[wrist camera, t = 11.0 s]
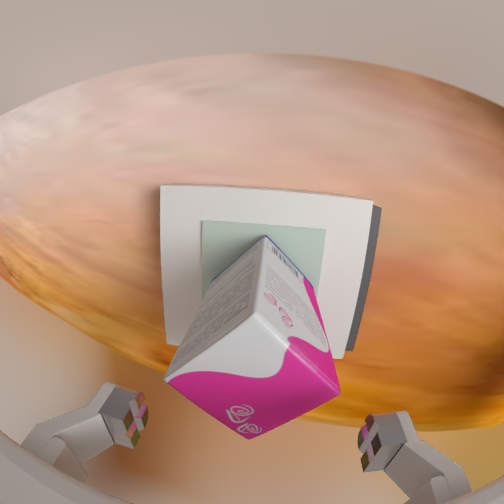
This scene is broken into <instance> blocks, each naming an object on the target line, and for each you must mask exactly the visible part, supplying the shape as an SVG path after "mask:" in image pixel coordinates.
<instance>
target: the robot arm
mask: <svg viewBox="0 0 504 504" xmlns="http://www.w3.org/2000/svg"><path fill="white" fill-rule="evenodd" d="M144 400H145V397H144V394H143V393H142V392H139V391H136V390H132V389H129V388H126V387H123V386H119V385H116V384H113V383H110V382H106V383H104V384H103V385H102V387H101V388H100V389H99V391H98V392H97V393H96V395H95V396H94V397H93V399H92V400H91V401H90V403H89V404H88V406H87V407H86V408H85V407H81V408H79V409H76V410H74V411H71V412H69V413H66V414H64V415H61V416H58V417H56V418H53V419H51V420H48V421H45V422H43V423H40V424H37V425H36V426H35V427H34V428H33V430H32V431H31V432H30V433H29V435H28V436H27V437H26V439H25V440H24V441H23V442H22V444H21V445H19V444H18V443H16V442H15V441H14V440H12V439H11V438H9V437H8V436H7V435H6V434H4V433H3V432H2V431H1V430H0V504H133V503H130V502H127V501H124V500H122V499H119V498H116V497H114V496H112V495H109V494H107V493H104V492H102V491H100V490H98V489H95V488H93V487H91V486H89V485H87V484H85V482H86V480H87V478H88V474H87V473H86V471H85V470H84V469H83V467H82V466H81V464H83V463H84V462H86V461H88V460H89V459H91V458H93V457H94V456H96V455H98V454H99V453H101V452H102V451H104V450H106V449H107V448H109V447H110V446H112V445H114V443H116V444H119V445H122V446H126V447H129V448H132V449H135V447H136V444H137V442H138V440H139V438H140V435H139V431H141V430H142V429H144V428H145V426H146V424H147V420H148V408H147V406H146V405H145V404H144V403H143V402H144ZM365 422H366V425H364V426H363V427H362V428H361V430H360V432H359V435H358V448H359V450H360V451H361V452H362V453H363V456H362V458H361V463H362V468H363V472H369V471H377V470H384V472H385V473H386V474H387V475H388V476H389V477H390V478H391V479H392V480H393V481H394V482H395V483H396V484H397V485H398V486H399V487H400V488H401V489H402V490H403V492H404V493H406V494H407V496H408V497H410V499H409V500H408V501H407V502H406V503H405V504H504V475H503V476H501V477H500V478H498V479H496V480H494V481H492V482H490V483H488V484H486V485H484V486H482V487H480V488H478V489H476V490H474V491H472V490H471V488H470V485H469V482H468V480H467V477H466V475H465V472H464V470H463V468H462V467H461V466H459V465H458V464H457V463H455V462H454V461H452V460H451V459H449V458H448V457H446V456H445V455H443V454H442V453H441V452H439V451H438V450H436V449H435V448H433V447H432V446H430V445H429V444H428V443H426V442H425V441H423V440H421V441H420V440H419V438H418V435H417V433H416V430H415V428H414V425H413V423H412V421H411V418H410V416H409V414H408V412H407V411H406V410H404V411H396V412H385V413H374V414H369V415H368V416H367V418H366V420H365Z"/></svg>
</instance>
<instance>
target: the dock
mask: <svg viewBox="0 0 504 504" xmlns="http://www.w3.org/2000/svg"><path fill="white" fill-rule="evenodd" d="M380 216H381V208H380V207H377V206H374V205H373V201H372V200H369V199H365V198H362V197H355V196H347V195H339V194H330V193H321V192H311V191H300V190H289V189H277V188H264V187H249V186H231V185H208V184H167V185H160V249H161V275H162V293H163V307H164V320H165V331H166V341H167V344H169V345H175V346H179V345H180V343H181V341H182V339H183V337H184V335H185V333H186V331H187V329H188V327H189V325H190V323H191V321H192V320H193V318H194V315H195V313H196V311H197V310H198V307H199V306H200V304H201V302H202V300H203V298H204V296H205V294H206V292H207V290H208V288H209V286H210V284H211V282H212V280H213V279H214V278H215V277H217V276H218V275H219V274H220V273H221V272H222V271H224V270H225V269H226V268H227V267H228V266H229V265H230V264H232V263H233V262H234V261H235V260H236V259H237V258H239V257H240V256H241V255H242V254H243V253H244V252H246V251H247V250H248V249H249V248H250V247H251V246H253V245H254V244H255V243H256V242H257V241H258V240H259V239H261V238H262V237H263V236H264V235H267V236H268V237H269V238H270V239H271V240H272V241H273V242H274V243H275V244H276V245H277V246H278V247H279V248H280V250H281V251H282V252H283V253H284V254H285V255H286V256H287V257H288V258H289V259H290V260H291V262H292V263H293V264H294V265H295V266H296V267H297V268H298V269H299V271H300V272H301V273H302V274H303V275H304V276H305V277H306V279H307V280H308V281H309V282H310V283H311V285H312V286H313V288H314V292H315V296H316V299H317V303H318V306H319V310H320V314H321V317H322V320H323V324H324V328H325V332H326V335H327V339H328V343H329V346H330V350H331V354H332V358H333V359H343V356H344V352H345V351H353V348H354V344H355V340H356V337H357V333H358V329H359V325H360V321H361V317H362V313H363V309H364V305H365V300H366V296H367V291H368V286H369V282H370V277H371V271H372V266H373V261H374V255H375V249H376V243H377V237H378V230H379V223H380Z"/></svg>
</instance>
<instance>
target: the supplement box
mask: <svg viewBox="0 0 504 504" xmlns="http://www.w3.org/2000/svg"><path fill="white" fill-rule="evenodd" d="M164 381H166V382H167V383H168V384H170V385H171V386H172V387H173V388H175V389H176V390H177V391H179V392H180V393H181V394H183V395H184V396H185V397H186V398H188V399H189V400H190V401H192V402H193V403H194V404H196V405H197V406H199V407H200V408H201V409H203V410H204V411H206V412H207V413H209V414H210V415H211V416H213V417H214V418H216V419H217V420H219V421H220V422H222V423H223V424H225V425H226V426H228V427H229V428H231V429H232V430H234V431H235V432H237V433H238V434H240V435H242V436H244V437H245V438H246V439H252V438H254V437H257V436H259V435H261V434H264V433H266V432H267V431H270V430H272V429H274V428H276V427H278V426H280V425H282V424H284V423H286V422H288V421H290V420H292V419H294V418H297V417H299V416H300V415H302V414H304V413H306V412H308V411H310V410H312V409H314V408H316V407H318V406H320V405H322V404H323V403H325V402H327V401H329V400H331V399H333V398H334V397H336V396H338V395H339V394H340V393H341V390H340V386H339V382H338V378H337V373H336V369H335V365H334V362H333V358H332V354H331V350H330V346H329V343H328V339H327V335H326V332H325V328H324V324H323V320H322V317H321V314H320V310H319V306H318V303H317V299H316V296H315V292H314V288H313V286H312V285H311V283H310V282H309V281H308V280H307V279H306V277H305V276H304V275H303V274H302V273H301V272H300V271H299V269H298V268H297V267H296V266H295V265H294V264H293V263H292V262H291V260H290V259H289V258H288V257H287V256H286V255H285V254H284V253H283V252H282V251H281V250H280V248H279V247H278V246H277V245H276V244H275V243H274V242H273V241H272V240H271V239H270V238H269V237H268V236H267V235H264V236H263V237H262V238H261V239H259V240H258V241H257V242H256V243H255V244H254V245H253V246H251V247H250V248H249V249H248V250H247V251H246V252H244V253H243V254H242V255H241V256H240V257H239V258H237V259H236V260H235V261H234V262H233V263H232V264H230V265H229V266H228V267H227V268H226V269H225V270H224V271H222V272H221V273H220V274H219V275H218V276H217V277H215V278H214V279H213V280H212V282H211V284H210V286H209V288H208V290H207V292H206V294H205V296H204V298H203V300H202V302H201V304H200V306H199V307H198V310H197V311H196V313H195V315H194V318H193V320H192V321H191V323H190V325H189V327H188V329H187V331H186V333H185V335H184V337H183V339H182V341H181V343H180V345H179V347H178V349H177V351H176V353H175V355H174V357H173V359H172V361H171V363H170V365H169V367H168V369H167V371H166V374H165V376H164Z"/></svg>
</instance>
